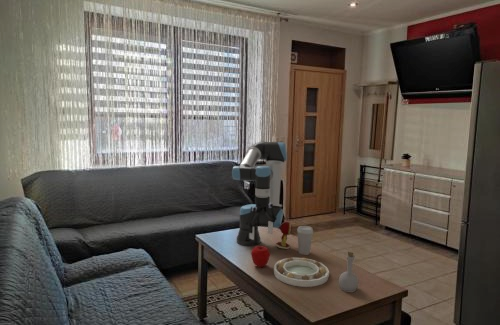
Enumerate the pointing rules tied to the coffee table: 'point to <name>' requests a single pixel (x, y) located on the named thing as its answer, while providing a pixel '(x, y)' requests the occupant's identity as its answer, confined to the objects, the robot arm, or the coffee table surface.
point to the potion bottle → (348, 276)
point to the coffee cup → (304, 239)
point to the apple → (260, 256)
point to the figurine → (285, 235)
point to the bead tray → (301, 272)
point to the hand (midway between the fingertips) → (261, 236)
